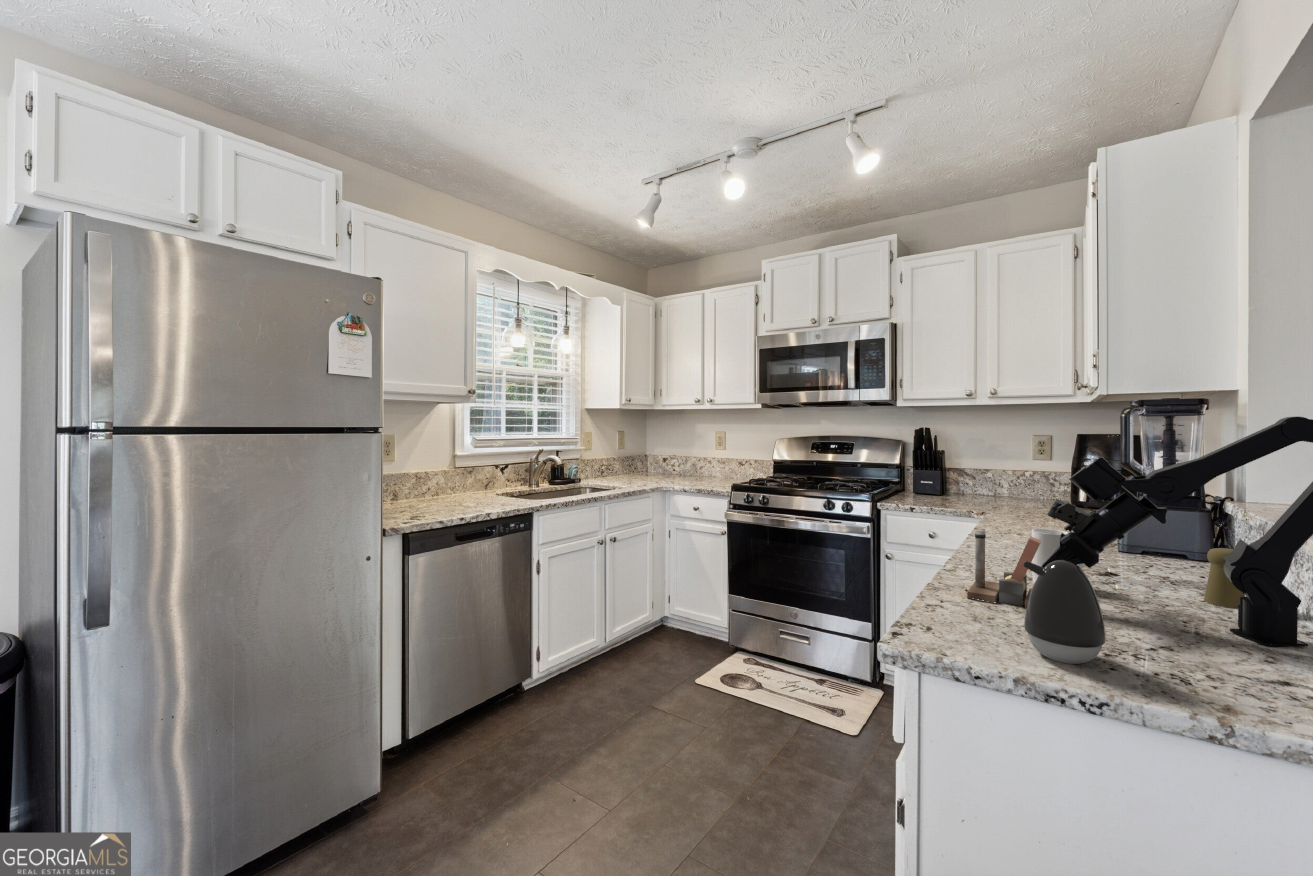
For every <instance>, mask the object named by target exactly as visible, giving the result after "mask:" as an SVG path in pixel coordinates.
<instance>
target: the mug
mask: <svg viewBox="0 0 1313 876" xmlns="http://www.w3.org/2000/svg"><path fill="white" fill-rule="evenodd" d="M1061 533H1063V534H1065V535H1066V534H1068V533H1069V531H1068V532H1067V531H1066V530H1058V529H1053V528H1052V529H1049V528H1034V529H1031V537H1033V538H1036V539H1038V540H1041V543H1040V545H1039V547H1038V549H1037V551H1036V554H1035V556H1034V558H1033V560H1032V562H1031V563H1033V564H1036V565H1038V566H1041V567H1042V565H1043V563H1044V562H1045V561H1046V560H1047V559H1048V558H1049V557H1050V556H1051V555H1052V554H1053V553H1054V551H1055V550H1056V549H1057V548H1058V547H1059V546H1060V536H1061ZM1077 566H1079V567H1080V568H1081V569H1082V570H1083V568H1084V566H1085V564H1078V565H1077ZM1031 572H1032V583H1033V584H1034V583H1035V581H1036V580H1037V578H1038V576H1039V575H1038V574H1036V573H1034V572H1033V571H1031Z"/></svg>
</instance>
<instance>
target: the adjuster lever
mask: <svg viewBox="0 0 1313 876" xmlns="http://www.w3.org/2000/svg"><path fill="white" fill-rule="evenodd" d="M1040 543H1041V540H1038V539H1036V538H1033V537H1032V535H1031V536H1030V537H1029V538H1028V540H1027V543H1026V544H1025V547H1024V549H1023V551H1022V553H1021V555H1020V558H1019V560H1017V561H1018V562H1017V564H1016V566H1015V569H1014V570H1013V572H1012V573H1013V574H1012V575H1010V576H1007V577H1006V578H1005V580H1012V581H1019V582H1023V593H1024V591H1025V588H1026V585H1025V582H1024V580H1023V579H1024V577H1025V575H1027V573H1028V570H1029V569H1027V568H1025V567H1024V566H1023V564H1024V562H1025V561H1028V562H1031V563H1032V560H1033V558H1034V556H1035V554H1036V551H1037V549H1038V547H1039V545H1040Z"/></svg>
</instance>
